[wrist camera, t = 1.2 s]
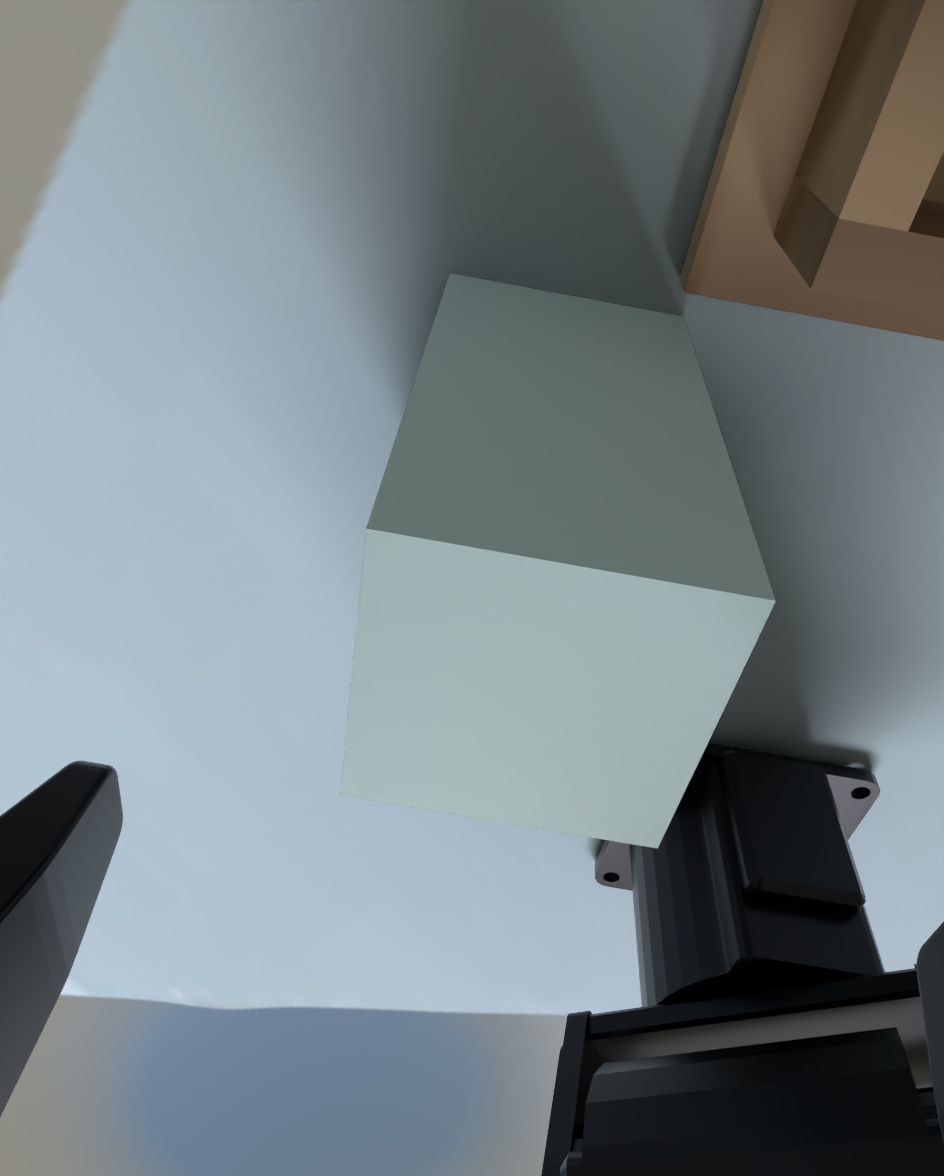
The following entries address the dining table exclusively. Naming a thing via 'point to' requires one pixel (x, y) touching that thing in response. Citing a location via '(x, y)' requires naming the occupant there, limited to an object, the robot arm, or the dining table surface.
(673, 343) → the painted peg
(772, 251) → the walnut socket
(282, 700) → the dining table surface
